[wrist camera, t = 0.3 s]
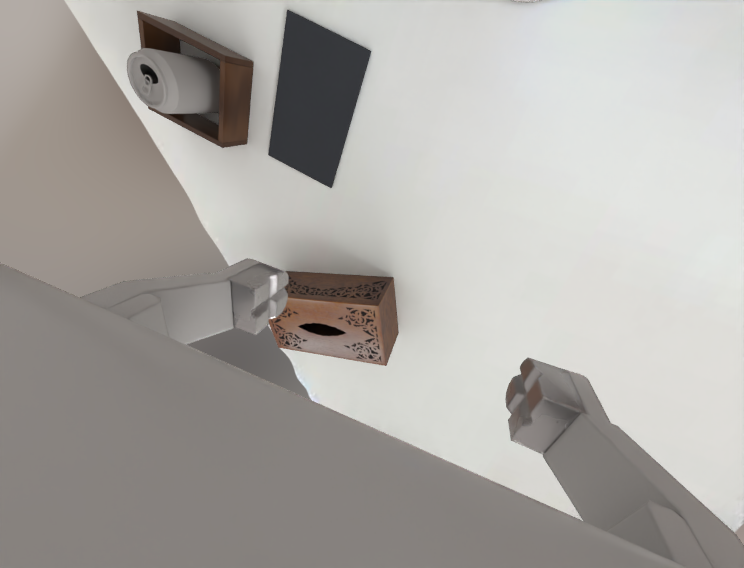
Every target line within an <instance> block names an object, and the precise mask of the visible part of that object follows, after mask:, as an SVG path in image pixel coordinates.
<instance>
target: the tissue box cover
mask: <svg viewBox="0 0 744 568" xmlns="http://www.w3.org/2000/svg"><path fill="white" fill-rule="evenodd" d="M286 272H287V274H288V275H289V277H288V284H287V285H286V286H285V287H284V288H285V289H286V291H287V293H288V300H287V304H286V307H285V308H284V310H283V312H282V313H281V314H280V315H279V316H278V317H277V318H273V319H269V324H270V327H271V330H272V332H273V335H274V337H275V340H276V342H277V345H278V347H279V348H285V349H291V350H297V351H302V352H308V353H314V354H320V355H326V356H332V357H338V358H344V359H349V360H355V361H361V362H367V363H373V364H379V365H385V366H386V365H387V363H388V360H389V357H390V354H391V352H392V349H393V346H394V344H395V341H396V338H397V335H398V322H397V311H396V300H395V289H394V278H393V277H377V276H360V275H342V274H325V273H308V272H290V271H286Z"/></svg>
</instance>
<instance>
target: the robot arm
mask: <svg viewBox="0 0 744 568" xmlns="http://www.w3.org/2000/svg"><path fill="white" fill-rule="evenodd" d="M512 1H516V2H536V1H540V0H512ZM288 277H289V275H288V274H287V272H285V271H283V270H280V269H277V268H275V267H272V266H269V265H267V264H264V263H261V262H259V261H256V260H253V259H245V260H242V261H240V262H238V263H236V264H234V265H232V266H230V267H227V268H225V269H223V270H221V271H219V272H217V273H215V274H211V273H203V274H193V275H183V276H172V277H163V278H152V279H142V280H132V281H123V282H120V283H117V284H115V285H112V286H109V287H106V288H104V289H101V290H99V291H96V292H93V293H90V294H88V295H85V296H82V297H80V298H79V297H77V296H75V295H73V294H70V293H68V292H66V291H64V290H61V289H59V288H57V287H54V286H52V285H50V284H48V283H46V282H43V281H41V280H39V279H37V278H34V277H32V276H30V275H27V274H25V273H23V272H21V271H19V270H16V269H14V268H12V267H9V266H7V265H5V264H3V263H1V262H0V568H744V545H743V544H742V542H741V541H740V539H739V538H738V536H737V535H736V534H735V533H734V532H733V531H732V530H731V529H730V528H728V527H727V526H726V525H725V524H724V523H723V522H722V521H721V520H720V519H719V518H718V517H716V516H715V515H714V514H713V513H712V512H711V511H710V510H709V509H708V508H707V507H705V506H704V505H703V504H702V503H701V502H700V501H699V500H698V499H697V498H696V497H695V496H693V495H692V494H691V493H690V492H689V491H688V490H687V489H686V488H685V487H684V486H683V485H681V484H680V483H679V482H678V481H677V480H676V479H675V478H674V477H673V476H672V475H671V474H669V473H668V472H667V471H666V470H665V469H664V468H663V467H662V466H661V465H660V464H659V463H657V462H656V461H655V460H654V459H653V458H652V457H651V456H650V455H649V454H648V453H647V452H645V451H644V450H643V449H642V448H641V447H640V446H639V445H638V444H637V443H636V442H635V441H633V440H632V439H631V438H630V437H629V436H628V435H627V434H626V433H625V432H624V431H622V430H621V429H620V428H619V427H618V426H616V425H614V424H611V423H610V421H609V419H608V417H607V415H606V413H605V411H604V409H603V407H602V405H601V403H600V401H599V399H598V397H597V396H596V394H595V392H594V390H593V388H592V386H591V384H590V382H589V380H588V379H587V378H586V377H585V376H584V375H580V374H577V373H574V372H571V371H568V370H565V369H561V368H558V367H555V366H552V365H549V364H546V363H543V362H540V361H537V360H534V359H531V358H527V359H526V360H524V361H523V363H522V364H521V366H520V370H521V374H520V375H518V376H515V377H513V378H512V380H511V382H510V383H509V385H508V389H507V392H506V407H507V409H508V410H509V411H510V413H511V414H512V415H511V417H510V418H509V419H508V423H509V430H510V436H511V441H513V442H516V443H518V444H520V445H522V446H525V447H527V448H529V449H532V450H534V451H536V452H538V453H541V454H543V457H544V459H545V461H546V462H547V464H548V465H549V467H550V469H551V470H552V472H553V473H554V475H555V476H556V478H557V480H558V481H559V483H560V484H561V486H562V488H563V489H564V491H565V492H566V494H567V496H568V497H569V499H570V500H571V502H572V503H573V505H574V507H575V508H576V510H577V511H578V513H579V515H580V516H581V518H582V519H583V521H582V520H580V519H577V518H575V517H573V516H571V515H568V514H566V513H564V512H561V511H559V510H557V509H555V508H552V507H550V506H548V505H546V504H543V503H541V502H539V501H537V500H534V499H532V498H530V497H528V496H525V495H523V494H521V493H518V492H516V491H514V490H512V489H509V488H507V487H505V486H503V485H500V484H498V483H496V482H494V481H491V480H489V479H487V478H485V477H482V476H480V475H478V474H476V473H473V472H471V471H469V470H467V469H464V468H462V467H460V466H458V465H455V464H453V463H451V462H449V461H446V460H444V459H442V458H440V457H438V456H435V455H433V454H431V453H429V452H426V451H424V450H422V449H420V448H417V447H415V446H413V445H411V444H408V443H406V442H404V441H402V440H399V439H397V438H395V437H393V436H390V435H388V434H386V433H384V432H381V431H379V430H377V429H375V428H372V427H370V426H368V425H366V424H363V423H361V422H359V421H357V420H354V419H352V418H350V417H348V416H345V415H343V414H341V413H339V412H336V411H334V410H332V409H329V408H327V407H325V406H323V405H320V404H318V403H316V402H314V401H311V400H309V399H307V398H305V397H302V396H300V395H298V394H296V393H293V392H291V391H289V390H287V389H284V388H282V387H280V386H278V385H275V384H273V383H271V382H268V381H266V380H264V379H262V378H259V377H257V376H255V375H253V374H250V373H248V372H246V371H244V370H241V369H239V368H237V367H235V366H232V365H230V364H228V363H226V362H223V361H221V360H219V359H217V358H214V357H212V356H210V355H208V354H205V353H203V352H201V351H198V350H196V349H194V348H192V347H190V346H187V345H186V344H189V343H192V342H194V341H198V340H201V339H203V338H207V337H209V336H212V335H215V334H218V333H221V332H224V331H227V330H230V329H233V328H234V327H235V328H238V329H241V330H243V331H245V332H248V333H251V334H253V335H257V334H258V333H259V332H260V331H261V330H263V329H264V328H265V327H266V326H267V325H268V324H269V319H273V318H277V317H278V316H279V315H280V314H281V313H282V312H283V310H284V308H285V307H286V304H287V300H288V293H287V291H286V289H285V288H284V287H285V286H286V285H287V284H288Z"/></svg>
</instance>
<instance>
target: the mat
mask: <svg viewBox="0 0 744 568" xmlns="http://www.w3.org/2000/svg"><path fill="white" fill-rule="evenodd" d="M370 54H371V51H370V50H368V49H366V48H364V47H362V46H360V45H358V44H356V43H354V42H352V41H350V40H348V39H346V38H344V37H342V36H340V35H338V34H336V33H334V32H332V31H330V30H328V29H326V28H324V27H322V26H320V25H318V24H315V23H313V22H311V21H309V20H307V19H305V18H303V17H301V16H299V15H297V14H295V13H293V12H291V11H289V10H287V17H286V24H285V32H284V39H283V47H282V55H281V62H280V70H279V78H278V85H277V93H276V101H275V108H274V116H273V124H272V131H271V139H270V147H269V154H268V155H269V156H271V157H273V158H275V159H277V160H279V161H281V162H283V163H284V164H286V165H288V166H290V167H292V168H294V169H296V170H298V171H300V172H301V173H303V174H305V175H307V176H309V177H311V178H313V179H315V180H317V181H319V182H320V183H322V184H324V185H326V186H328V187H330V188H332V185H333V181H334V178H335V175H336V171H337V168H338V164H339V161H340V157H341V154H342V150H343V147H344V143H345V140H346V137H347V133H348V130H349V126H350V123H351V119H352V116H353V112H354V109H355V106H356V102H357V99H358V95H359V92H360V88H361V85H362V81H363V78H364V74H365V71H366V68H367V64H368V61H369V57H370Z"/></svg>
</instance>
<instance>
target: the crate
mask: <svg viewBox="0 0 744 568" xmlns="http://www.w3.org/2000/svg"><path fill="white" fill-rule="evenodd" d="M137 15H138V24H139V32H140V40H141V49H142V48H150V49H156V50H161V51H166V52H172V53H177V54H180V40H182V41H184V42H186V43H188V44H190V45H192V46H194V47H196V48H198V49H200V50H202V51H204V52H206V53H208V54H210V55H212V56H214V57H215V58H217V59H219V60H220V91H219V125H218V124H216V123H214V122H212V121H210V120H208V119H206V118H204V117H203V116H201V115H199V114H197V113H193V114H166V113H161V112H160V111H158V110H156V109H155V108H151V107H149V106H148V108H149V109H150V110H152V111H154V112H156V113H158V114H160V115H161V116H163V117H165V118H167V119H169V120H171V121H173V122H175V123H177V124H178V125H180V126H182V127H184V128H186V129H188V130H190V131H192V132H194V133H195V134H197V135H199V136H201V137H203V138H205V139H207V140H209V141H211V142H212V143H214V144H216V145H218V146H220V147H222V148H224V147H231V146H238V145H245V144H247V137H248V124H249V112H250V100H251V88H252V75H253V68H252V67H253V61H251V60H249V59H247V58H245V57H243V56H241V55H239V54H237V53H235V52H233V51H232V50H230V49H228V48H226V47H224V46H222V45H220V44H218V43H216V42H214V41H212V40H210V39H208V38H206V37H204V36H202V35H200V34H198V33H196V32H194V31H192V30H190V29H188V28H186V27H184V26H183V25H181V24H179V23H177V22H175V21H171V20H168V19H164V18H161V17H158V16H154V15H151V14H147V13H144V12H140V11H137ZM179 39H180V40H179Z"/></svg>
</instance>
